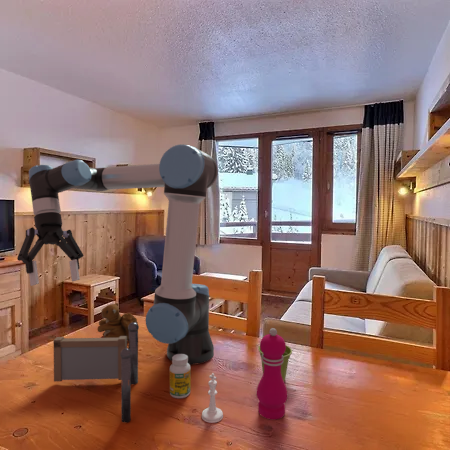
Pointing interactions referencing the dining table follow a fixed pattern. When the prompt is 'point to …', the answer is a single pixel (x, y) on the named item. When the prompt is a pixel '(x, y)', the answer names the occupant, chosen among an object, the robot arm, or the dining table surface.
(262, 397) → the pepper mill
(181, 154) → the robot arm
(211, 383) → the chess piece
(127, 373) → the gate posts
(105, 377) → the gate leaf
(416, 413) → the dining table surface
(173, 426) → the dining table surface
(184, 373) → the supplement bottle
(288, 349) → the plant pot
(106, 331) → the stuffed squirrel
